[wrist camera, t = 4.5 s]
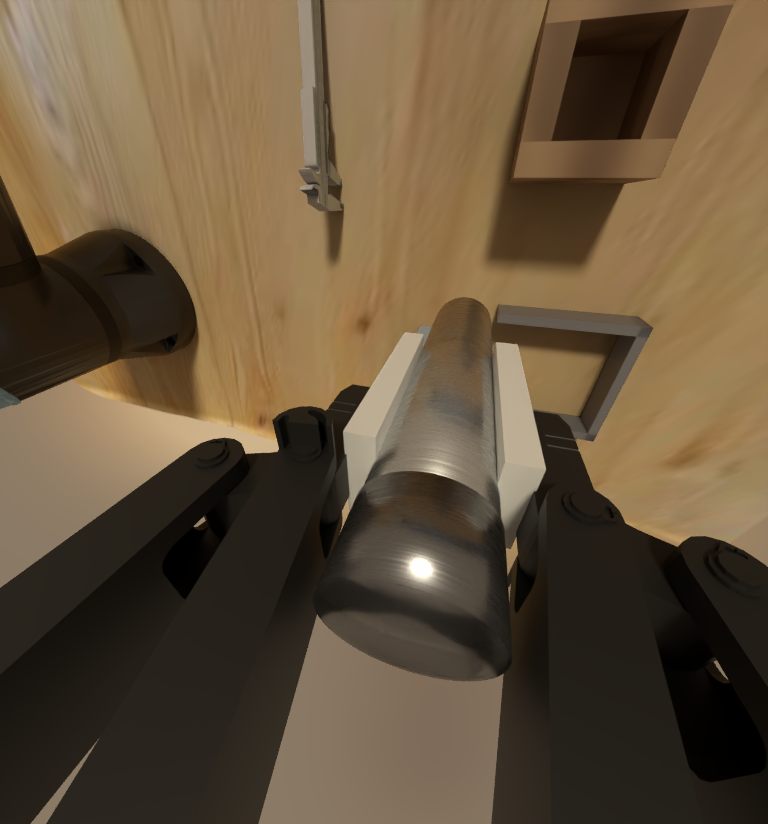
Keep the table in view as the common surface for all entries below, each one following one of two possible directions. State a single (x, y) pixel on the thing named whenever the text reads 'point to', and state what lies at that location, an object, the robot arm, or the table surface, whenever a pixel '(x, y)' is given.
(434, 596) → the cylinder
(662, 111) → the bore block
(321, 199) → the caliper
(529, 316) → the corral
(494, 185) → the table surface
